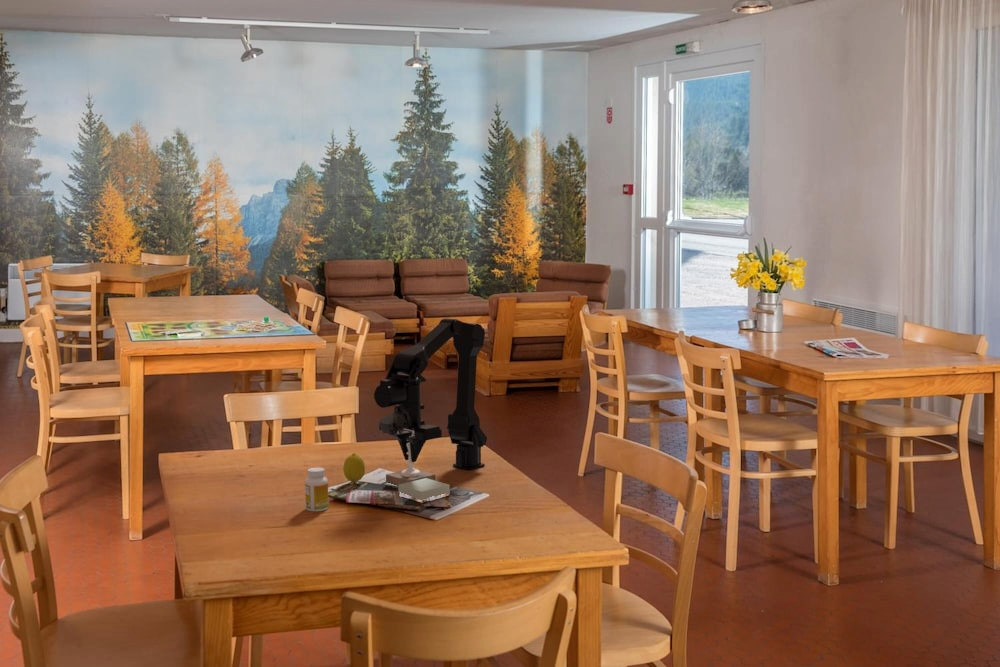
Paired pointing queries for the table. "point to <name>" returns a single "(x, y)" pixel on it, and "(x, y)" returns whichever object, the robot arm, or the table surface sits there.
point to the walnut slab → (399, 479)
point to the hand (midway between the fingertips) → (410, 461)
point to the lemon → (354, 468)
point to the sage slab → (424, 488)
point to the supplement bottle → (316, 490)
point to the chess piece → (410, 465)
